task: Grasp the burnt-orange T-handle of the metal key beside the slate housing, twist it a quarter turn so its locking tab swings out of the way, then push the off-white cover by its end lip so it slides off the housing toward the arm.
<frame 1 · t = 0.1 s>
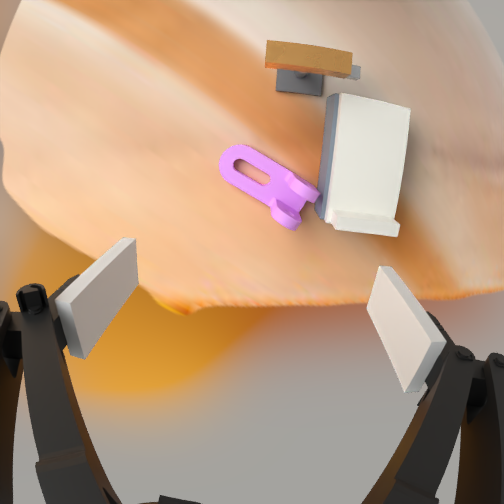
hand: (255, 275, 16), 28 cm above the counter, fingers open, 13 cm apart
key: (312, 66, 30), point 5 cm above the counter, hinge at 0.0°
cover: (373, 164, 33), point 7 cm above the counter, slide at 0.0 cm
bracket: (263, 177, 41), on the counter
housing: (355, 158, 39), on the counter
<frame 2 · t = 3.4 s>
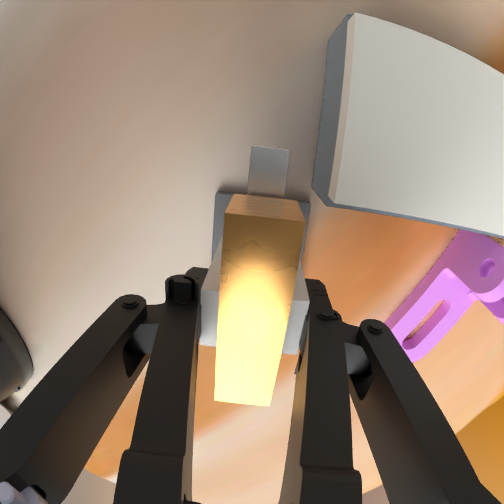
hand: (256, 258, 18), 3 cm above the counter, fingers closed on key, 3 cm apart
key: (257, 258, 15), point 5 cm above the counter, hinge at 0.0°, touching gripper
cover: (497, 148, 10), point 7 cm above the counter, slide at 0.0 cm
bracket: (433, 298, 22), on the counter
housing: (430, 137, 17), on the counter
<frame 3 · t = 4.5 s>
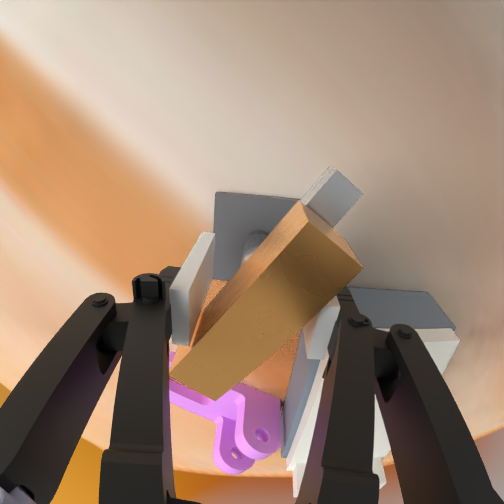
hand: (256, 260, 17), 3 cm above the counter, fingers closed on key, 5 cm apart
key: (269, 262, 15), point 5 cm above the counter, hinge at 56.7°, touching gripper
cover: (366, 431, 18), point 7 cm above the counter, slide at 0.0 cm
bracket: (206, 387, 27), on the counter
housing: (348, 366, 25), on the counter
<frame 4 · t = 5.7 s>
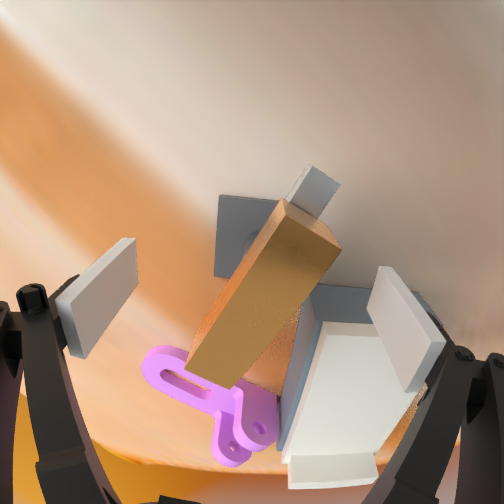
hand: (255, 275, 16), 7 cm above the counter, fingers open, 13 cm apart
key: (265, 258, 17), point 5 cm above the counter, hinge at 65.2°
cover: (358, 424, 19), point 7 cm above the counter, slide at 0.0 cm
bracket: (206, 382, 28), on the counter
housing: (342, 363, 26), on the counter
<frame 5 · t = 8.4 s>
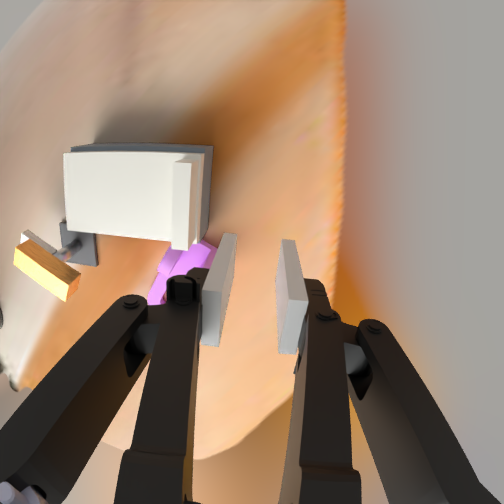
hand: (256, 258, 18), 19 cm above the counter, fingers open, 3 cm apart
key: (53, 254, 33), point 5 cm above the counter, hinge at 65.4°
cover: (120, 197, 28), point 7 cm above the counter, slide at 0.0 cm
bracket: (180, 277, 40), on the counter
housing: (146, 183, 35), on the counter
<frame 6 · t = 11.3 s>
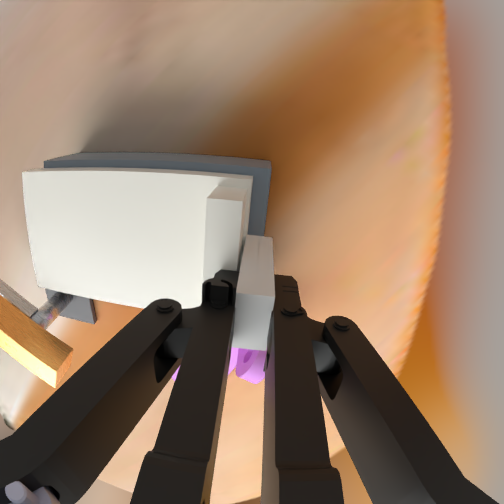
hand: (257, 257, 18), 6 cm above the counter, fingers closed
key: (33, 314, 22), point 5 cm above the counter, hinge at 65.4°
cover: (110, 248, 17), point 7 cm above the counter, slide at 1.0 cm, touching gripper
bracket: (214, 341, 29), on the counter
housing: (163, 215, 24), on the counter
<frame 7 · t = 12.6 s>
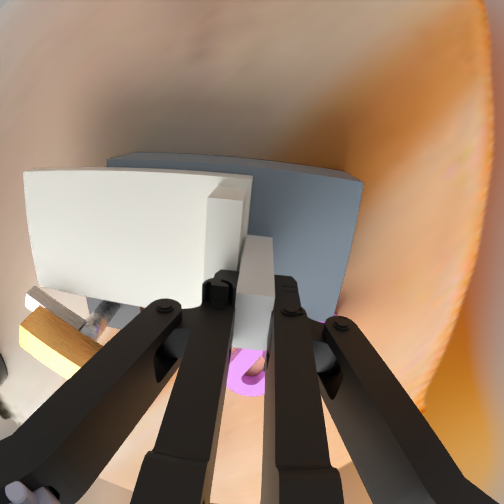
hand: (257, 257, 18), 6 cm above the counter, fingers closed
key: (80, 326, 22), point 5 cm above the counter, hinge at 65.4°
cover: (111, 247, 17), point 7 cm above the counter, slide at 6.6 cm, touching gripper
bracket: (271, 346, 29), on the counter
housing: (232, 221, 24), on the counter
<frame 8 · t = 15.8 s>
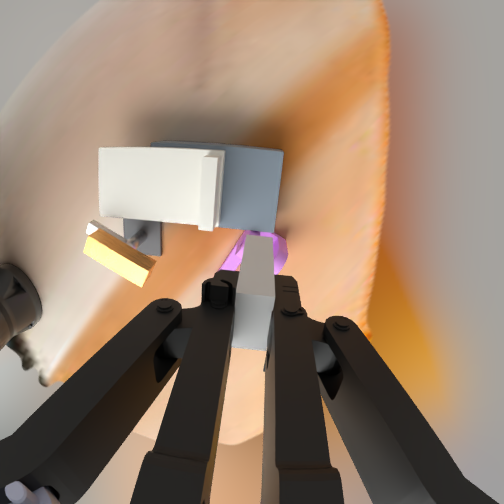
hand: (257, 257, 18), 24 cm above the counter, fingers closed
key: (122, 244, 39), point 5 cm above the counter, hinge at 65.4°
cover: (152, 186, 34), point 7 cm above the counter, slide at 6.7 cm
bracket: (245, 263, 45), on the counter
housing: (218, 180, 40), on the counter
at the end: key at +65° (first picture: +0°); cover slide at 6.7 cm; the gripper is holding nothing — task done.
